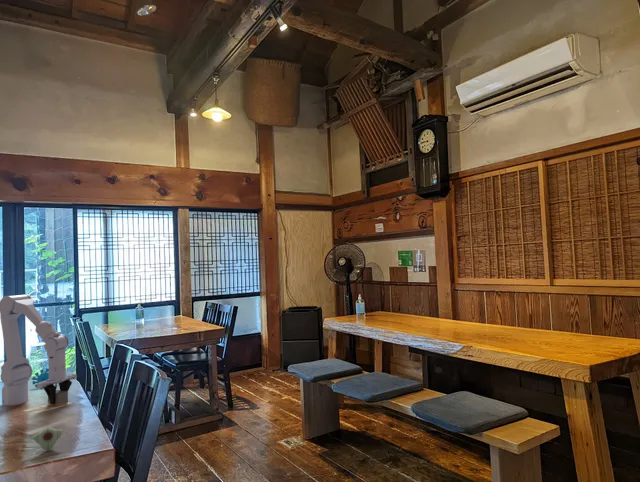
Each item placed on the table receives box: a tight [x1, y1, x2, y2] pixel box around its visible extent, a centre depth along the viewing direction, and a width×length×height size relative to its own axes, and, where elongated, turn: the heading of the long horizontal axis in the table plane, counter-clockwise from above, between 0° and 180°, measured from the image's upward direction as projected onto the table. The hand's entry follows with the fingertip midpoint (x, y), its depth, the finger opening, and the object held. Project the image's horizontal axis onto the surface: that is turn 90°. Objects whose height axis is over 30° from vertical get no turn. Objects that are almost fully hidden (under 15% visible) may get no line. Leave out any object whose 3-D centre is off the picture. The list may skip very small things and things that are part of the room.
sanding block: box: [47, 389, 69, 406], centre depth 176 cm, size 7×4×4 cm, turn 62°
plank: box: [23, 401, 72, 415], centre depth 173 cm, size 10×13×1 cm
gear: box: [31, 368, 49, 390], centre depth 210 cm, size 11×6×10 cm
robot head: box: [31, 427, 64, 451], centre depth 133 cm, size 8×4×7 cm, turn 121°
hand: (58, 402), depth 176 cm, fingers closed on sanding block, 4 cm apart
